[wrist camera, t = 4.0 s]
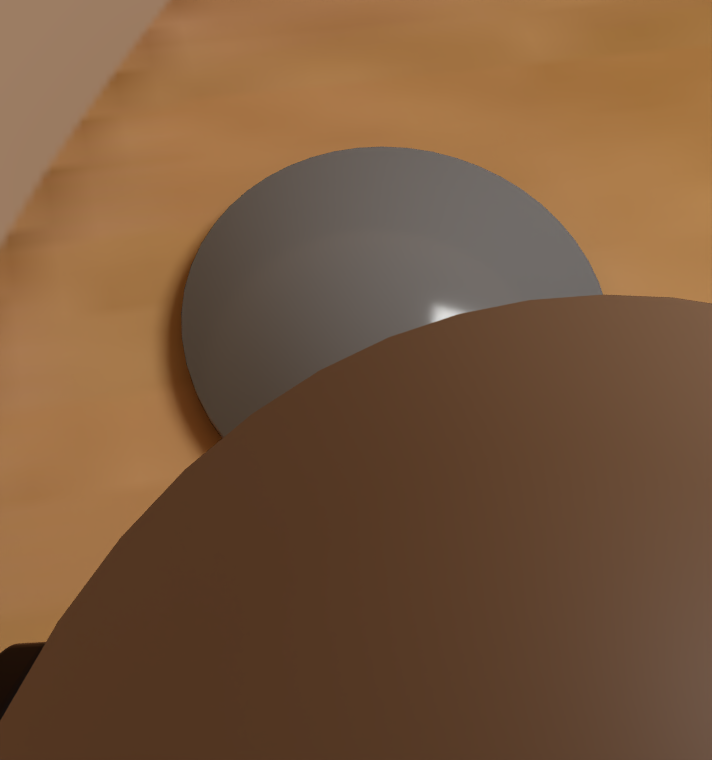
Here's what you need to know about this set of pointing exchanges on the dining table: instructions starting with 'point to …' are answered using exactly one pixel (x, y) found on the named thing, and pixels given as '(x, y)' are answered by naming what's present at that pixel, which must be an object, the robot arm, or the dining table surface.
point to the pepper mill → (419, 561)
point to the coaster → (358, 267)
